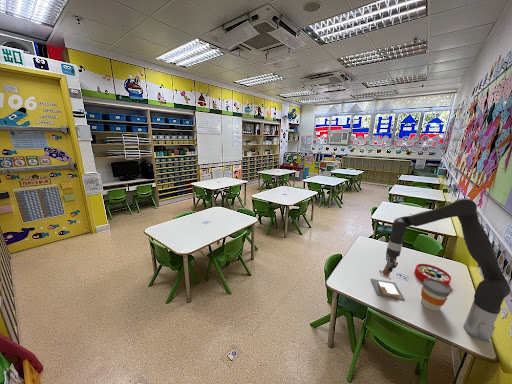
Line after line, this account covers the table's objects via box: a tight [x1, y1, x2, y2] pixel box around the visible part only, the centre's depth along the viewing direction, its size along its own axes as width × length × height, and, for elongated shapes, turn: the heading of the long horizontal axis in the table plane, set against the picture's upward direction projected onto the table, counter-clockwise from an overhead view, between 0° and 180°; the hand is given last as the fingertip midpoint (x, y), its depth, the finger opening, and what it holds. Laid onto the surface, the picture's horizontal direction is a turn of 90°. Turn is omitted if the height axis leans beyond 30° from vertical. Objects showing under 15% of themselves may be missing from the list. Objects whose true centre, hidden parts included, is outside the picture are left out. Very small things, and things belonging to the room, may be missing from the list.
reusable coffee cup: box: [420, 278, 451, 312], centre depth 126 cm, size 13×13×15 cm
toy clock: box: [414, 263, 452, 287], centre depth 152 cm, size 20×6×20 cm
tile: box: [378, 282, 399, 297], centre depth 138 cm, size 2×9×10 cm
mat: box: [370, 278, 406, 301], centre depth 140 cm, size 16×16×1 cm
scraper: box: [378, 261, 392, 280], centre depth 139 cm, size 6×6×11 cm
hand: (389, 269), depth 140 cm, fingers closed on scraper, 3 cm apart
